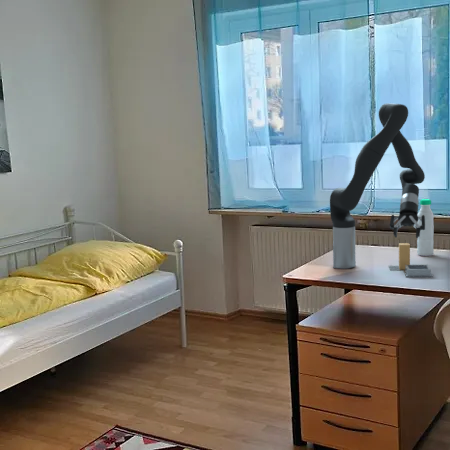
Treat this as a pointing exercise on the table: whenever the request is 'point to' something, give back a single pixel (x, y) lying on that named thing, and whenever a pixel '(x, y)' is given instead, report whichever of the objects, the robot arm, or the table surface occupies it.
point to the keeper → (417, 271)
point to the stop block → (404, 255)
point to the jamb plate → (395, 268)
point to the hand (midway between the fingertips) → (406, 236)
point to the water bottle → (426, 229)
